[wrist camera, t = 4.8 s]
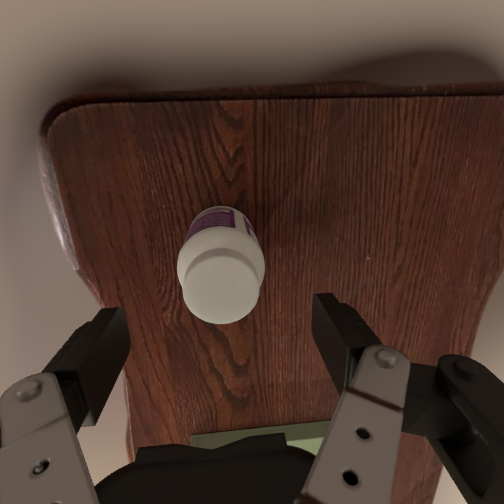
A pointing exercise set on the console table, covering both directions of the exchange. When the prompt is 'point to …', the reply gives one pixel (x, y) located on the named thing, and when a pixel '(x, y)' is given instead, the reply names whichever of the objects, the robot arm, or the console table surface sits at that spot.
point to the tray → (295, 434)
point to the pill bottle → (220, 266)
